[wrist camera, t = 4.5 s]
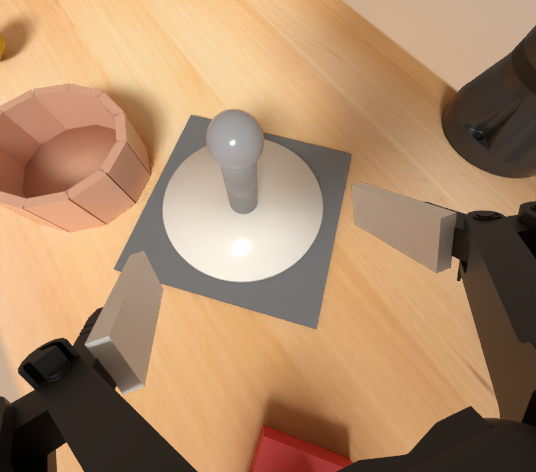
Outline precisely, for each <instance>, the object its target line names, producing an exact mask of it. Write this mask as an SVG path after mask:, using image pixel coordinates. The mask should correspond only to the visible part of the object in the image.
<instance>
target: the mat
mask: <svg viewBox="0 0 536 472" xmlns="http://www.w3.org/2000/svg"><path fill="white" fill-rule="evenodd" d="M211 121H212V120H209V119H205V118H201V117H197V116H193V115H191V116H190V118H189V120H188V122H187V124H186V126H185V128H184V130H183V132H182V134H181V136H180V138H179V140H178V142H177V144H176V146H175V148H174V150H173V152H172V154H171V156H170V158H169V160H168V162H167V164H166V166H165V168H164V170H163V172H162V174H161V176H160V178H159V180H158V182H157V184H156V186H155V188H154V190H153V192H152V194H151V196H150V198H149V200H148V202H147V204H146V206H145V208H144V210H143V212H142V214H141V216H140V218H139V220H138V222H137V224H136V226H135V228H134V230H133V232H132V234H131V236H130V238H129V240H128V242H127V244H126V246H125V248H124V250H123V252H122V254H121V256H120V258H119V260H118V262H117V264H116V265H115V267H114V269H115V270H117V271H121V272H122V270H123V268H124V266H125V264H126V262H127V260H128V258H129V256H130V255H132V254H135V253H138V252H141V251H144V252H145V254H146V256H147V258H148V260H149V262H150V264H151V266H152V268H153V270H154V272H155V273H156V275H157V277H158V279H159V281H160V283H161V284H165V285H168V286H172V287H175V288H178V289H182V290H185V291H188V292H192V293H195V294H199V295H202V296H205V297H209V298H212V299H216V300H219V301H222V302H226V303H229V304H233V305H236V306H239V307H243V308H246V309H249V310H253V311H256V312H260V313H263V314H266V315H270V316H273V317H277V318H280V319H283V320H287V321H290V322H293V323H297V324H300V325H304V326H307V327H310V328H314V329H317V324H318V319H319V314H320V309H321V304H322V299H323V294H324V289H325V284H326V279H327V274H328V269H329V264H330V259H331V254H332V249H333V244H334V239H335V234H336V229H337V224H338V219H339V214H340V209H341V204H342V199H343V194H344V189H345V184H346V179H347V174H348V169H349V165H350V160H351V155H352V154H349V153H345V152H341V151H337V150H333V149H329V148H324V147H320V146H316V145H312V144H308V143H304V142H300V141H296V140H292V139H287V138H283V137H279V136H275V135H271V134H267V133H263V135H264V139H265V140H268V141H272V142H275V143H277V144H280V145H282V146H284V147H286V148H287V149H289V150H291V151H292V152H294V153H295V154H296V155H298V156H299V157H300V158H301V159H302V160H303V161H304V162H305V163H306V164H307V165H308V167H309V168H310V169H311V171H312V172H313V174H314V175H315V177H316V179H317V182H318V184H319V187H320V190H321V193H322V200H323V215H322V222H321V225H320V228H319V231H318V234H317V236H316V238H315V240H314V242H313V243H312V245H311V246H310V248H309V249H308V251H307V252H306V253H305V255H304V256H303V257H302V258H301V259H300V260H299V261H298V262H297V263H296V264H294V265H293V266H292V267H290V268H289V269H287V270H286V271H284V272H283V273H280V274H278V275H276V276H274V277H271V278H268V279H265V280H261V281H256V282H247V283H237V282H228V281H223V280H219V279H216V278H213V277H210V276H208V275H206V274H204V273H202V272H200V271H198V270H197V269H196V268H194V267H193V266H192V265H190V264H189V263H188V262H187V261H186V260H185V259H184V258H183V257H182V256H181V255H180V254H179V253H178V252H177V250H176V249H175V248H174V246H173V245H172V243H171V241H170V239H169V237H168V235H167V232H166V229H165V226H164V221H163V199H164V195H165V191H166V188H167V186H168V183H169V181H170V179H171V178H172V176H173V174H174V173H175V171H176V170H177V169H178V167H179V166H180V165H181V164H182V163H183V162H184V161H185V160H186V159H187V158H188V157H189V156H191V155H192V154H193V153H194V152H196V151H198V150H199V149H201V148H203V147H205V146H207V144H206V133H207V129H208V126H209V124H210V122H211Z"/></svg>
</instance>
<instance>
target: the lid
mask: <svg viewBox="0 0 536 472" xmlns="http://www.w3.org/2000/svg"><path fill="white" fill-rule="evenodd" d="M206 144H207V146H205V147H203V148H201V149H199V150H198V151H196V152H194V153H193V154H192V155H191V156H189V157H188V158H187V159H186V160H185V161H184V162H183V163H182V164H181V165H180V166H179V167H178V169H177V170H176V171H175V173H174V174H173V176H172V178H171V179H170V181H169V183H168V186H167V188H166V191H165V195H164V199H163V221H164V226H165V229H166V232H167V235H168V237H169V239H170V241H171V243H172V245H173V246H174V248H175V249H176V250H177V252H178V253H179V254H180V255H181V256H182V257H183V258H184V259H185V260H186V261H187V262H188V263H189V264H190V265H192V266H193V267H194V268H196V269H197V270H198V271H200V272H202V273H204V274H206V275H208V276H210V277H213V278H216V279H219V280H223V281H228V282H237V283H247V282H256V281H261V280H265V279H268V278H271V277H274V276H276V275H278V274H280V273H283V272H284V271H286V270H287V269H289V268H290V267H292V266H293V265H294V264H296V263H297V262H298V261H299V260H300V259H301V258H302V257H303V256H304V255H305V253H306V252H307V251H308V249H309V248H310V246H311V245H312V243H313V242H314V240H315V238H316V236H317V234H318V231H319V228H320V225H321V222H322V215H323V200H322V193H321V190H320V187H319V184H318V182H317V179H316V177H315V175H314V174H313V172H312V171H311V169H310V168H309V167H308V165H307V164H306V163H305V162H304V161H303V160H302V159H301V158H300V157H299V156H298V155H296V154H295V153H294V152H292V151H291V150H289V149H287V148H286V147H284V146H282V145H280V144H277V143H275V142H272V141H268V140H265V139H264V135H263V131H262V128H261V126H260V124H259V123H258V121H257V120H256V119H255V118H254V117H253V116H252V115H250V114H249V113H247V112H245V111H243V110H239V109H229V110H225V111H222V112H221V113H219V114H218V115H216V116H215V117H214V118H213V119H212V121H211V122H210V124H209V126H208V129H207V133H206Z"/></svg>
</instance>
